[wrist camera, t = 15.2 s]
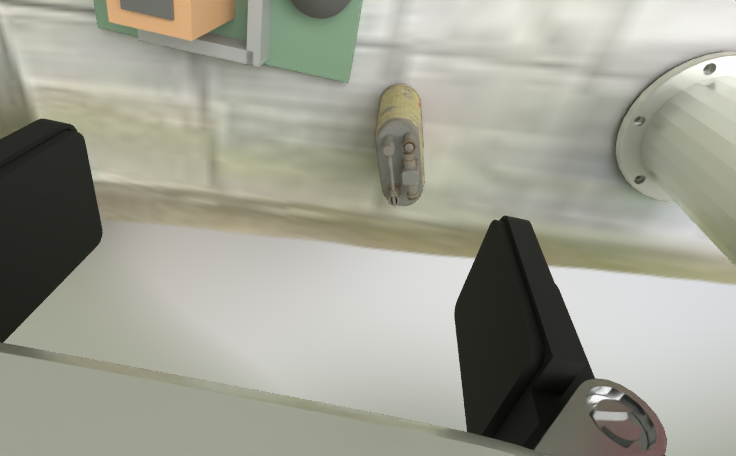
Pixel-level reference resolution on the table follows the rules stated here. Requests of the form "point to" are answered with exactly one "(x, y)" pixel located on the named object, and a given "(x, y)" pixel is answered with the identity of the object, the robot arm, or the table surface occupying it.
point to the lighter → (400, 145)
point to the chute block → (172, 15)
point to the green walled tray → (272, 35)
